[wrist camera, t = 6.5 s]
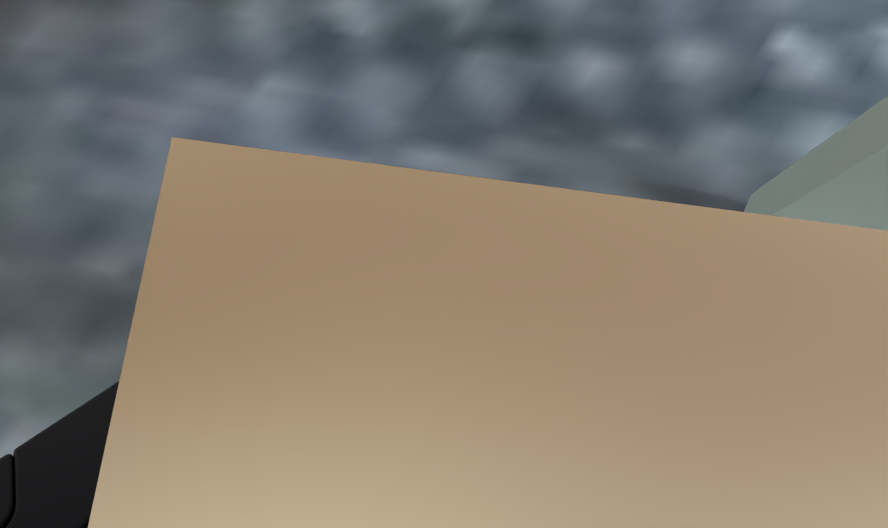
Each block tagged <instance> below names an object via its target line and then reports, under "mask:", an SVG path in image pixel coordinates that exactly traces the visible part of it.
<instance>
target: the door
mask: <svg viewBox="0 0 888 528" xmlns="http://www.w3.org/2000/svg"><path fill="white" fill-rule="evenodd" d="M744 212H748V213H756V214H763V215H771V216H779V217H786V218H794V219H802V220H809V221H817V222H825V223H832V224H840V225H848V226H855V227H863V228H871V229H878V230H886V231H888V96H887V97H885V98H884V99H883V100H881V101H880V102H879V103H877V104H876V105H874V106H873V107H872V108H870V109H869V110H867V111H866V112H865V113H863V114H862V115H860V116H859V117H858V118H856V119H855V120H853V121H852V122H851V123H849V124H848V125H847V126H845V127H844V128H842V129H841V130H840V131H838V132H837V133H835V134H834V135H833V136H831V137H830V138H828V139H827V140H826V141H824V142H823V143H821V144H820V145H819V146H817V147H816V148H815V149H813V150H812V151H810V152H809V153H808V154H806V155H805V156H803V157H802V158H801V159H799V160H798V161H796V162H795V163H794V164H792V165H791V166H790V167H788V168H787V169H785V170H784V171H783V172H781V173H780V174H778V175H777V176H776V177H774V178H773V179H771V180H770V181H769V182H767V183H766V184H764V185H763V186H762V187H760V188H759V189H758V190H756V191H755V192H753V193H752V194H751V195H750V198H749V200H748V202H747V205H746V207H745V209H744Z"/></svg>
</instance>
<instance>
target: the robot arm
mask: <svg viewBox="0 0 888 528" xmlns="http://www.w3.org/2000/svg"><path fill="white" fill-rule="evenodd" d="M118 385H119V381H118V382H117V383H115V384H114V385H112V386H111V387H109V388H108V389H106V390H105V391H103V392H102V393H100V394H99V395H97V396H96V397H94V398H92V399H91V400H89V401H88V402H86V403H85V404H83V405H82V406H80V407H79V408H77V409H76V410H74V411H73V412H71V413H70V414H68V415H66V416H65V417H63V418H62V419H60V420H59V421H57V422H56V423H54V424H53V425H51V426H50V427H48V428H47V429H45V430H44V431H42V432H41V433H39V434H37V435H36V436H34V437H33V438H31V439H30V440H28V441H27V442H25V443H24V444H22V445H21V446H19V447H18V448H16V449H15V450H14V457H13V455H11V454H7V455H5V456H3V457H2V458H0V528H88V524H89V519H90V515H91V510H92V505H93V501H94V496H95V492H96V487H97V482H98V478H99V473H100V468H101V464H102V459H103V454H104V450H105V445H106V441H107V436H108V431H109V427H110V422H111V417H112V413H113V408H114V403H115V399H116V394H117V389H118Z"/></svg>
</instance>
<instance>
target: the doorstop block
mask: <svg viewBox="0 0 888 528" xmlns="http://www.w3.org/2000/svg"><path fill="white" fill-rule="evenodd" d="M88 528H888V231H886V230H878V229H871V228H863V227H855V226H848V225H840V224H832V223H825V222H817V221H809V220H802V219H794V218H786V217H779V216H771V215H763V214H756V213H748V212H740V211H733V210H725V209H717V208H710V207H702V206H694V205H687V204H679V203H671V202H664V201H656V200H648V199H641V198H633V197H625V196H618V195H610V194H602V193H595V192H587V191H579V190H572V189H564V188H557V187H549V186H541V185H534V184H526V183H518V182H511V181H503V180H495V179H488V178H480V177H472V176H465V175H457V174H449V173H442V172H434V171H426V170H419V169H411V168H403V167H396V166H388V165H380V164H373V163H365V162H357V161H350V160H342V159H334V158H327V157H319V156H311V155H304V154H296V153H288V152H281V151H273V150H265V149H258V148H250V147H243V146H235V145H227V144H220V143H212V142H204V141H197V140H189V139H181V138H174V137H172V139H171V144H170V148H169V153H168V157H167V162H166V167H165V171H164V176H163V181H162V185H161V190H160V195H159V199H158V204H157V209H156V213H155V218H154V222H153V227H152V232H151V236H150V241H149V246H148V250H147V255H146V260H145V264H144V269H143V273H142V278H141V283H140V287H139V292H138V297H137V301H136V306H135V311H134V315H133V320H132V325H131V329H130V334H129V338H128V343H127V348H126V352H125V357H124V362H123V366H122V371H121V376H120V380H119V385H118V389H117V394H116V399H115V403H114V408H113V413H112V417H111V422H110V427H109V431H108V436H107V441H106V445H105V450H104V454H103V459H102V464H101V468H100V473H99V478H98V482H97V487H96V492H95V496H94V501H93V505H92V510H91V515H90V519H89V524H88Z"/></svg>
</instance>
